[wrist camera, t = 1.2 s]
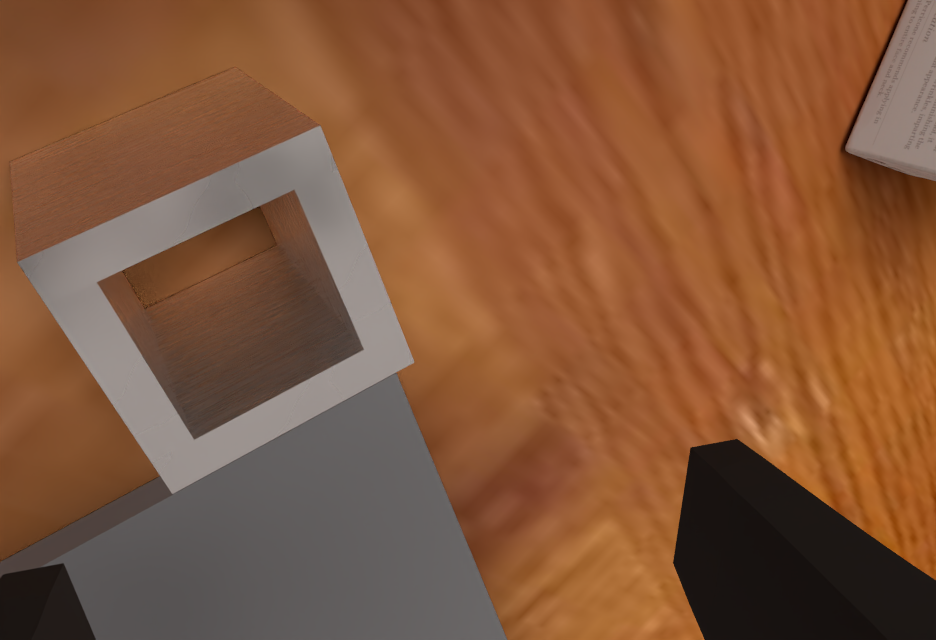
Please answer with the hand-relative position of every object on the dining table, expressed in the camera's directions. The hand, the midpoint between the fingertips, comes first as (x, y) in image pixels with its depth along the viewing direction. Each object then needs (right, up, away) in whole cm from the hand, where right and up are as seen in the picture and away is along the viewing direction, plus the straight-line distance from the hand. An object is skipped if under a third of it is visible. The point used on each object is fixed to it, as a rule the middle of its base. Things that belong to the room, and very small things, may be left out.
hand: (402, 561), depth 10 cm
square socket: (-6, +5, +9) cm, 12 cm away
